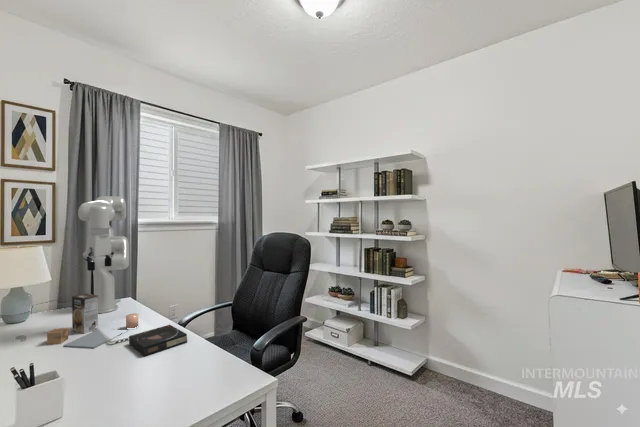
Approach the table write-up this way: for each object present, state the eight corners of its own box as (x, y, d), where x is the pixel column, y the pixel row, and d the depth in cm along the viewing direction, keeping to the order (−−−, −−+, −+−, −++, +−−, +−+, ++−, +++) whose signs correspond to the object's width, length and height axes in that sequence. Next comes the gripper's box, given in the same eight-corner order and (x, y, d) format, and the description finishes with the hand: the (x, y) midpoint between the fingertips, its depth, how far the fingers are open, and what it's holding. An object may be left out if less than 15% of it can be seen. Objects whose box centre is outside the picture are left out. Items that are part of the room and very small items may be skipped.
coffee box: (71, 331, 140) (71, 296, 139) (86, 326, 146) (86, 292, 145) (83, 333, 136) (83, 298, 136) (98, 328, 142) (98, 294, 142)
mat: (100, 329, 141) (100, 328, 141) (127, 331, 139) (127, 329, 139) (63, 346, 123) (63, 345, 123) (94, 348, 121) (94, 346, 121)
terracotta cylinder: (131, 325, 146) (131, 313, 146) (140, 325, 145) (140, 313, 145) (123, 329, 141) (123, 316, 141) (133, 329, 141) (133, 317, 141)
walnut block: (54, 340, 130) (54, 328, 130) (68, 339, 131) (68, 327, 131) (47, 345, 125) (47, 333, 125) (61, 343, 126) (61, 332, 126)
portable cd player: (144, 358, 114) (144, 347, 114) (129, 345, 125) (129, 335, 125) (187, 343, 126) (187, 334, 126) (169, 333, 138) (169, 324, 138)
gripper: (106, 230, 150) (107, 264, 151) (75, 233, 133) (76, 272, 133) (120, 230, 150) (121, 265, 150) (91, 233, 132) (91, 272, 133)
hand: (99, 268), depth 142 cm, fingers open, 9 cm apart
